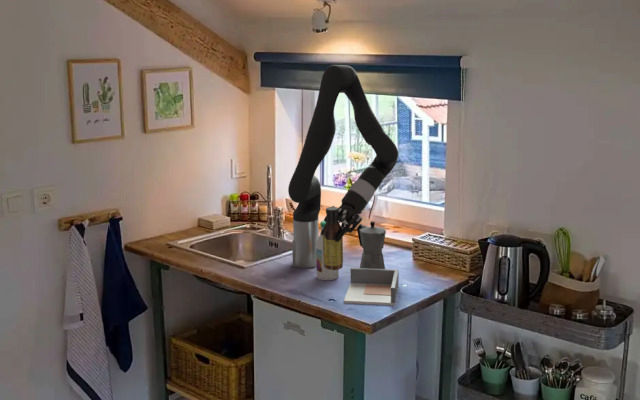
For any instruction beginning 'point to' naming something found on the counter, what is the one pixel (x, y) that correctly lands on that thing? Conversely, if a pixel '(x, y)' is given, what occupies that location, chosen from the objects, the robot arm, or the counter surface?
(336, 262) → the sauce bottle
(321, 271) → the milk bottle
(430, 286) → the counter surface
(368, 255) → the coffeepot
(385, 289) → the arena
